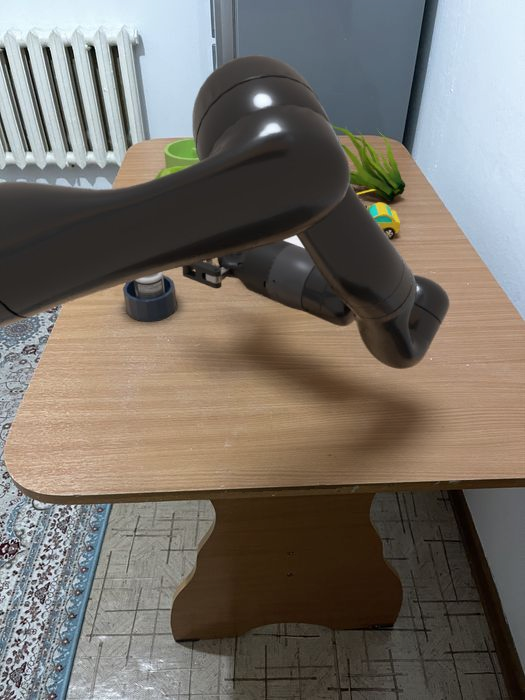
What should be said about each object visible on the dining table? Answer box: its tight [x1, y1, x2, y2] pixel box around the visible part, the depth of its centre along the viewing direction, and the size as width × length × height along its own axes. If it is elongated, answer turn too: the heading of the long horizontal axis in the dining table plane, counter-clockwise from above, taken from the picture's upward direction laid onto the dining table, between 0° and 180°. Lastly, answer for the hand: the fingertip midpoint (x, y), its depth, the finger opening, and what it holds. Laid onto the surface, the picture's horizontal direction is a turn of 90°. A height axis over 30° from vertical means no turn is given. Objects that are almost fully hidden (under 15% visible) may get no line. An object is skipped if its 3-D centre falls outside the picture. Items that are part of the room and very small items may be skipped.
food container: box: [163, 137, 200, 169], centre depth 134 cm, size 25×15×13 cm, turn 74°
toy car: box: [356, 189, 401, 240], centre depth 113 cm, size 12×8×8 cm, turn 89°
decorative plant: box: [332, 124, 406, 203], centre depth 130 cm, size 18×30×15 cm, turn 23°
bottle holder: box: [122, 274, 177, 323], centre depth 93 cm, size 8×8×4 cm
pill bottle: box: [134, 271, 165, 299], centre depth 91 cm, size 5×5×8 cm
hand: (192, 236), depth 79 cm, fingers open, 8 cm apart
